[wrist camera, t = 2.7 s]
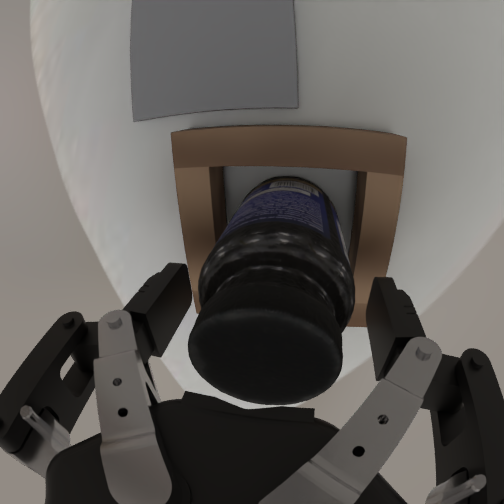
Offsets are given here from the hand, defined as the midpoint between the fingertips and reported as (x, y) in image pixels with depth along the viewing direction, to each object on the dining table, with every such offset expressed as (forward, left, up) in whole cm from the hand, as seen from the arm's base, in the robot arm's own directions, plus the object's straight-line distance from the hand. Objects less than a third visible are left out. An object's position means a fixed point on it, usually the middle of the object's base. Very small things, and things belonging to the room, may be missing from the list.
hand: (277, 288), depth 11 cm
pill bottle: (0, 0, -7) cm, 7 cm away
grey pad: (-12, -4, -7) cm, 15 cm away
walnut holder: (0, 0, -7) cm, 7 cm away
